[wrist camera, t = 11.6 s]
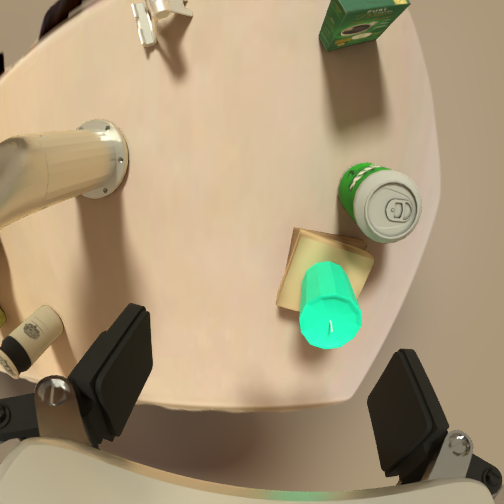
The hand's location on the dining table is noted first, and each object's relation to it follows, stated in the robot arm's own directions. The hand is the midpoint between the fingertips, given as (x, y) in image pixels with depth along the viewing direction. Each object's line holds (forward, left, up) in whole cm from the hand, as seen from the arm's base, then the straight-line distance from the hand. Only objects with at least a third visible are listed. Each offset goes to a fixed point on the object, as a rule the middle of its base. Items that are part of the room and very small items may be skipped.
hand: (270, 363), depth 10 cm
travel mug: (-47, -33, -31) cm, 65 cm away
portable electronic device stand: (-20, +26, -31) cm, 45 cm away
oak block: (+7, -9, -28) cm, 30 cm away
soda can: (+10, +3, -31) cm, 32 cm away
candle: (+7, -9, -25) cm, 27 cm away
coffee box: (+6, +24, -31) cm, 39 cm away
